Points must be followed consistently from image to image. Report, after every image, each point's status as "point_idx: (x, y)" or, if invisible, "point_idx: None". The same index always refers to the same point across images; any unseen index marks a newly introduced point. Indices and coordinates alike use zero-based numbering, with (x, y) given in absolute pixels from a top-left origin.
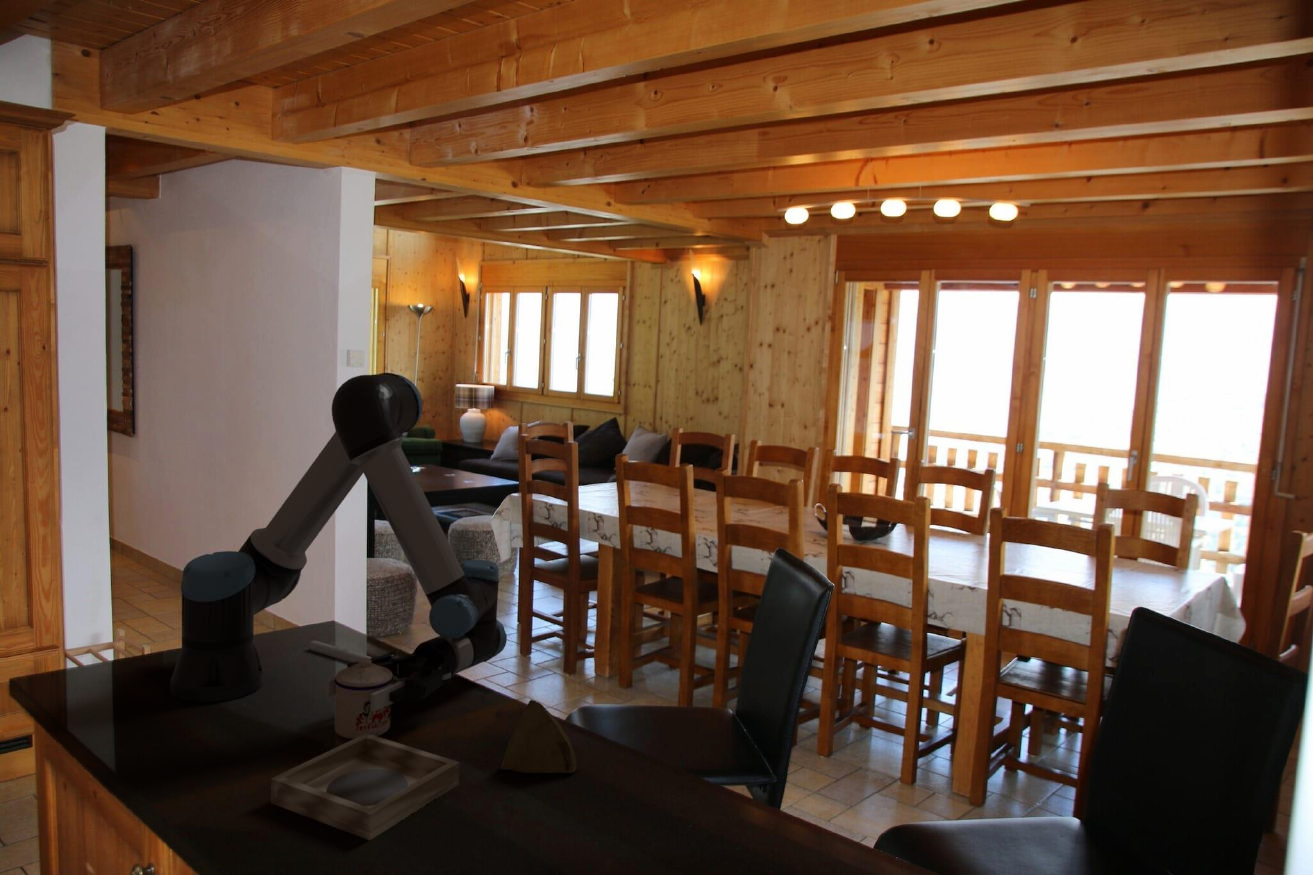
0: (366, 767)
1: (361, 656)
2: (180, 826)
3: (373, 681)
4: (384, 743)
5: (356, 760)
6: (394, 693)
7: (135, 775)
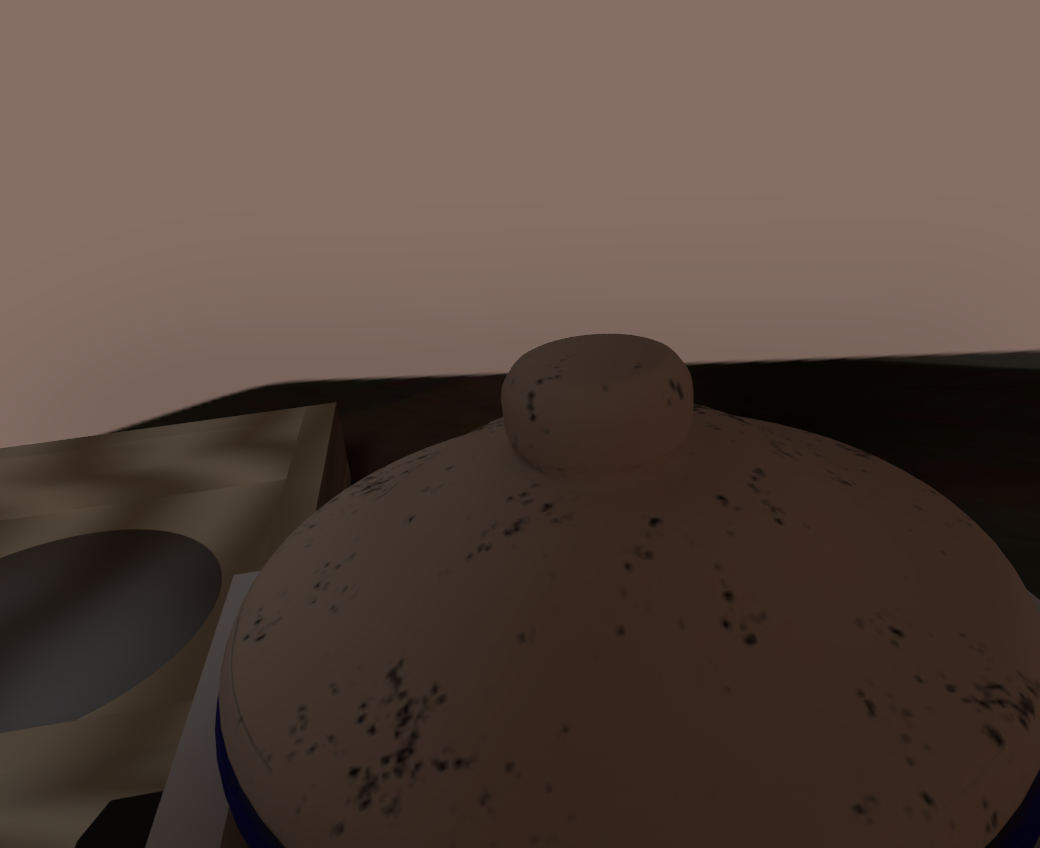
0: (142, 700)
1: None
2: (447, 381)
3: (306, 522)
4: (52, 724)
5: None
6: (110, 809)
7: (800, 373)
